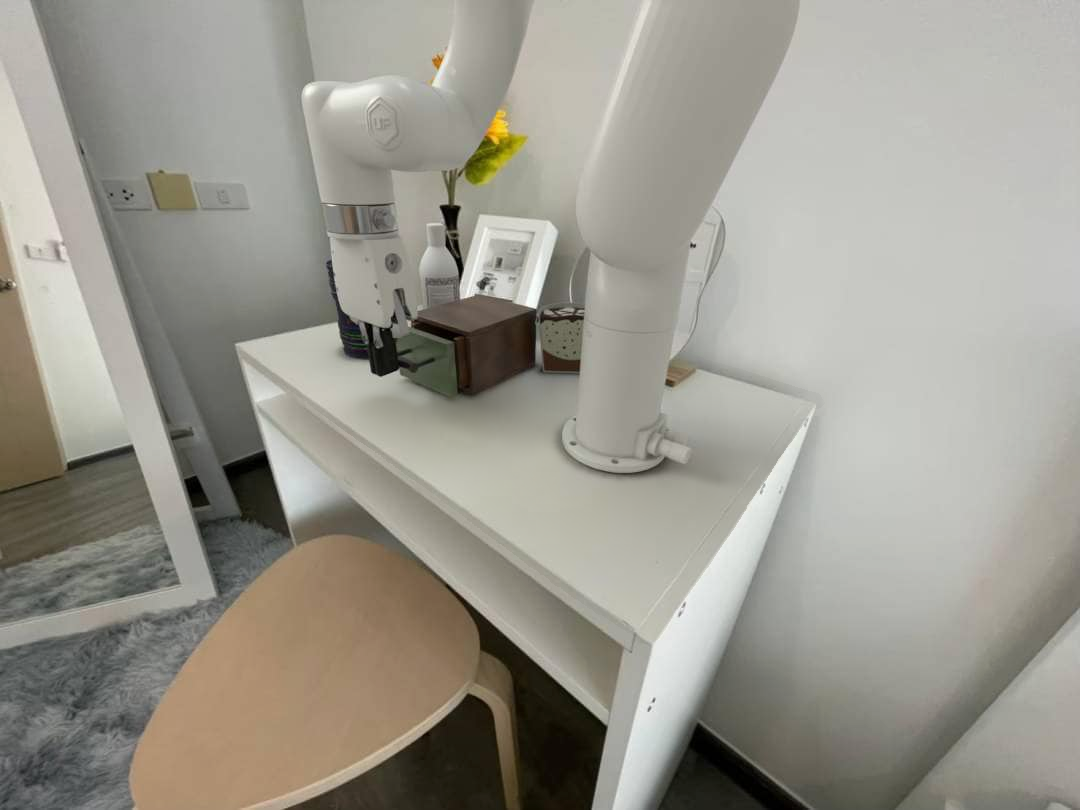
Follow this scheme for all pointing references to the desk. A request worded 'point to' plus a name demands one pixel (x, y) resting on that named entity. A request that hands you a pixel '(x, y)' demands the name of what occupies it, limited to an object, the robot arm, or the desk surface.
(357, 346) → the storage jar
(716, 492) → the desk surface
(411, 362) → the drawer
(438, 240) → the bath foam
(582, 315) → the food container
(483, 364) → the cabinet
